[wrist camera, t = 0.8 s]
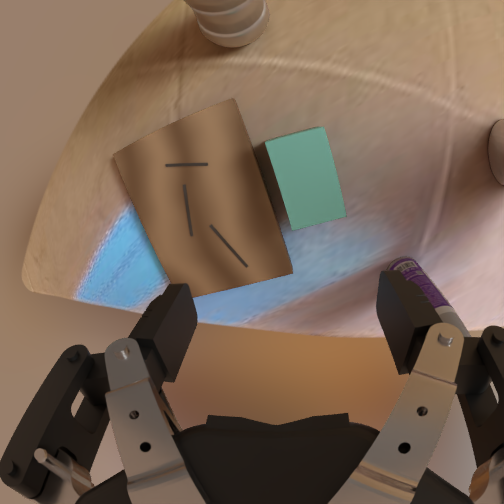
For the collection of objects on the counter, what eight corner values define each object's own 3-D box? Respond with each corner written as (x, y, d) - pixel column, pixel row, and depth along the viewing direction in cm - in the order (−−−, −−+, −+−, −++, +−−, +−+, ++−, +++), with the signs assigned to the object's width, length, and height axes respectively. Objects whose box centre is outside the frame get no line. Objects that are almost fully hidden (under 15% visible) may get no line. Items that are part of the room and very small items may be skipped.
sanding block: (315, 127, 24) (323, 126, 20) (335, 201, 27) (346, 216, 23) (267, 140, 25) (264, 142, 21) (290, 213, 28) (292, 230, 24)
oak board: (235, 99, 24) (232, 98, 22) (292, 266, 31) (293, 273, 29) (119, 152, 27) (112, 154, 25) (184, 293, 34) (180, 300, 32)
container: (379, 285, 31) (423, 378, 18) (394, 252, 29) (455, 337, 15) (407, 292, 31) (456, 378, 18) (423, 261, 29) (485, 341, 16)
